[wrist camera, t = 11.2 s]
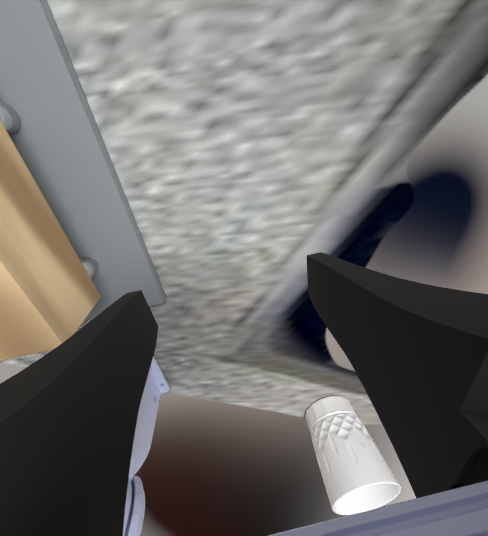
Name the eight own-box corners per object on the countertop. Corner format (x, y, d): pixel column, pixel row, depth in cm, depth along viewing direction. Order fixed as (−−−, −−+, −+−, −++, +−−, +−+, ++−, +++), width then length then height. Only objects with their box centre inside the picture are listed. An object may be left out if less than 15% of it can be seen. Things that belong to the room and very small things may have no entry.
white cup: (352, 386, 33) (405, 475, 24) (352, 417, 36) (397, 503, 28) (298, 401, 33) (330, 495, 24) (303, 430, 36) (333, 521, 28)
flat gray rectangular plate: (166, 296, 22) (160, 317, 19) (48, 321, 22) (26, 346, 19) (44, -6, 12) (-1, -47, 10) (-172, 29, 12) (-279, -4, 9)
